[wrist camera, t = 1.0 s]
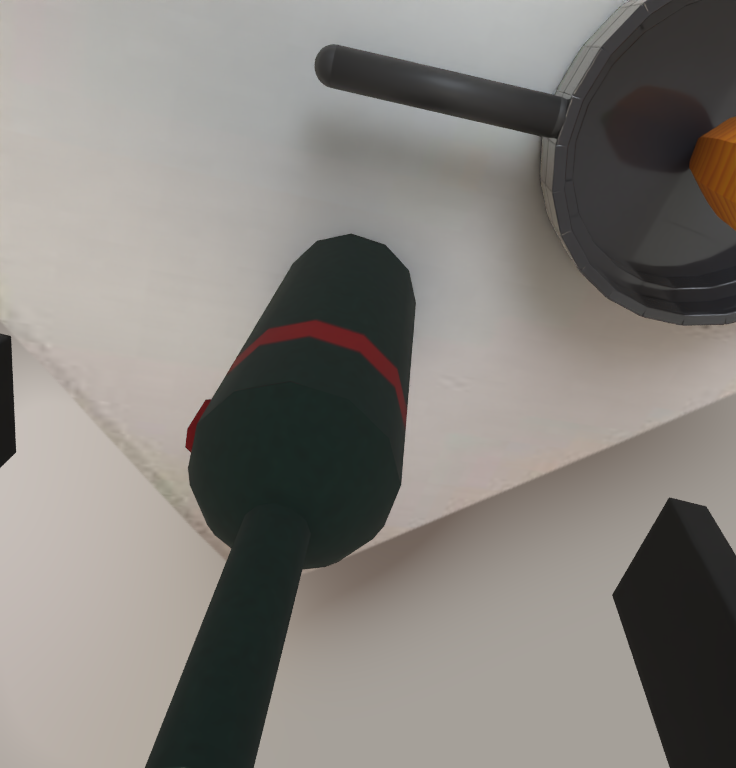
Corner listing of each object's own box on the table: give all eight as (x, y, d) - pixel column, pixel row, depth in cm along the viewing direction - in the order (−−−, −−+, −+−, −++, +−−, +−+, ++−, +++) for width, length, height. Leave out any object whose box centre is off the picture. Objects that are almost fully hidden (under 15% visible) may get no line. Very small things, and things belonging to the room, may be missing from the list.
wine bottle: (228, 286, 38) (-214, 817, 12) (377, 209, 35) (222, 688, 9) (295, 390, 41) (58, 997, 15) (437, 326, 38) (453, 943, 12)
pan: (608, -80, 29) (634, -98, 25) (953, 3, 29) (1030, -4, 25) (500, 262, 36) (508, 287, 33) (774, 324, 37) (813, 355, 33)
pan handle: (321, 40, 30) (315, 40, 28) (575, 99, 30) (583, 102, 28) (315, 82, 30) (308, 84, 29) (562, 139, 31) (569, 144, 29)
